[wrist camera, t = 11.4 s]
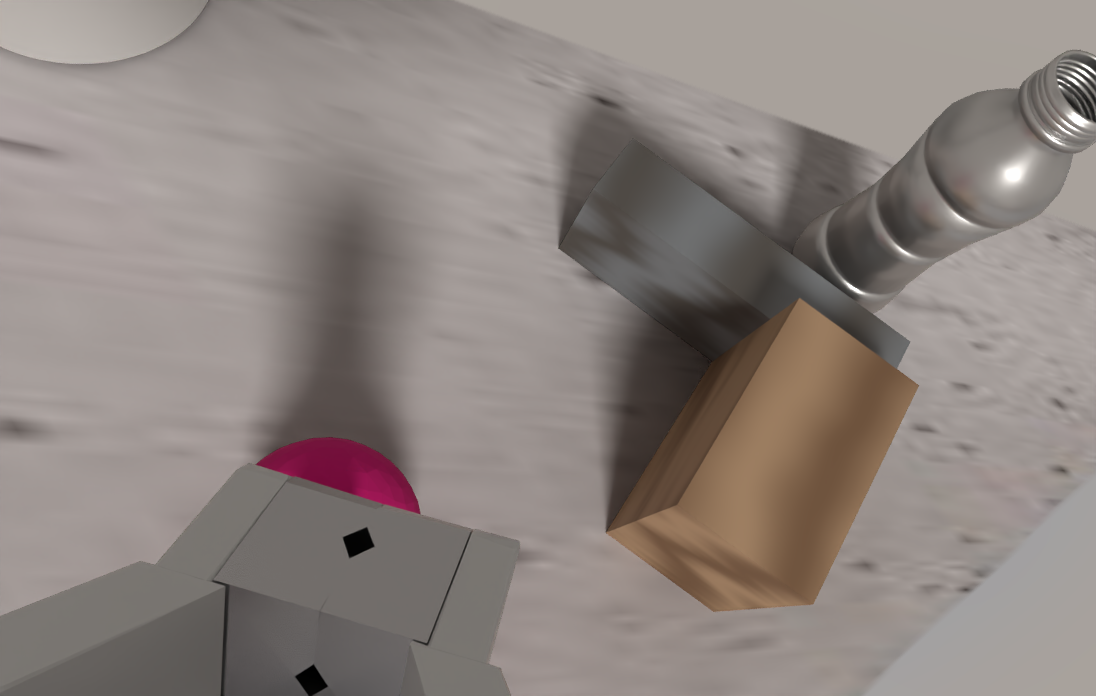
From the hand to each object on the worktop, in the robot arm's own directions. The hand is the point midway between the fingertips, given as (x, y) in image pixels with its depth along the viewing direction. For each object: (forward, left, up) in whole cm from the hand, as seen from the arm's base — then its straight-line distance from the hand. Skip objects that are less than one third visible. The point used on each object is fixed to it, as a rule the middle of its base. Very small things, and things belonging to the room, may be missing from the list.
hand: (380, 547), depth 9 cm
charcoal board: (-7, +25, -33) cm, 42 cm away
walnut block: (+2, +21, -33) cm, 39 cm away
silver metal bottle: (-6, +34, -34) cm, 48 cm away
